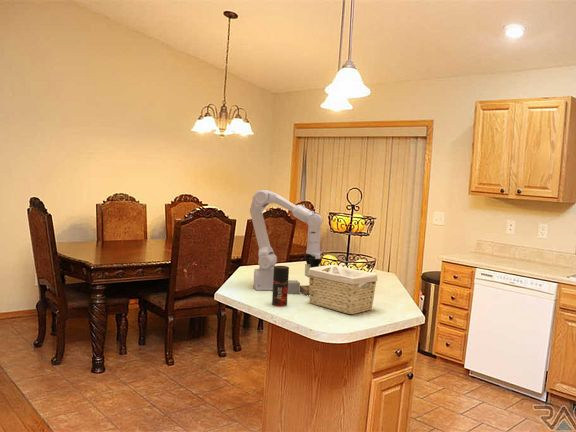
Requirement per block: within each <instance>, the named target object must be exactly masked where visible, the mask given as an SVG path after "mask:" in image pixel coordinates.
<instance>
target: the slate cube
mask: <svg viewBox="0 0 576 432" xmlns="http://www.w3.org/2000/svg"><path fill="white" fill-rule="evenodd" d="M300 286H301V282H300V281H298V280H296V279H294V280H289V279H288V295H300V293H301V292H300Z"/></svg>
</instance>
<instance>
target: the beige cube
mask: <svg viewBox="0 0 576 432" xmlns="http://www.w3.org/2000/svg"><path fill="white" fill-rule="evenodd" d="M304 266H305V267H304V276H305V277H307V278H309V275H308V272H309V269H310V268H311V265H310V264H307V263H305V264H304Z"/></svg>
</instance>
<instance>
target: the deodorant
mask: <svg viewBox="0 0 576 432" xmlns="http://www.w3.org/2000/svg"><path fill="white" fill-rule="evenodd" d="M289 271H290V267H289V266H287V265H275V266H274V275H273V290H272V299H271V305H272V306H274V307H281V308H283V307H286V306H287V305H288V295H289V294H288V280H289Z"/></svg>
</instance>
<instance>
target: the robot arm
mask: <svg viewBox="0 0 576 432" xmlns="http://www.w3.org/2000/svg"><path fill="white" fill-rule="evenodd" d="M251 200H252V201H251V203H250V208H249V213H250V214H249V215H250V217H251V221H252V225H253V229H254V235H255V237H256V241H257V246H258V262H257V263H258V264H257V265H258V266H259V268H255V269H254V271H253V285H252V286H253V288H254V290H256V291H273V275H274V266H276V264H277V263H278V257H277V255H276V254H275V253H274V249H273V248H272V245H271V243H270V239H269V235H268V230H267V228H266V222H265V218H264V214H263V211H264V210H265V209H266V208H267V206H268V205H270V204H277V205H278V206H280V207H282V208H284V209H286V210H288V211H290V212H292V216H293V217H294V218H297V220H300V221H301V222H303V223H305V224H306V225H307V226H308V229H307V239H306V240H307V242H306V251H305V253H306V254H304V255H303V256H304V258H305V261H306V263H305V264H310V265H311V268H313V267H319V266H320V264H321V262H322V261H323V258H322V257H321V254H323V251H321V238H322V237H321V236H322V226H321V225H322V224H323V221H324V220H323V217H322V216H321V215H320V214H319V213H315V210H310V209H308V208H306V205H304V204H297V205H296V204H294V203H292V202H291V201H289V200H288V199H286V198H285V197H283V196H282V195H280V194H278V193H276V192H274V191H272V190H271V189H270V190H269V189H265V190H263V189H259V190H257V191H256V192H254V194H253V196H252V199H251Z"/></svg>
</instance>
